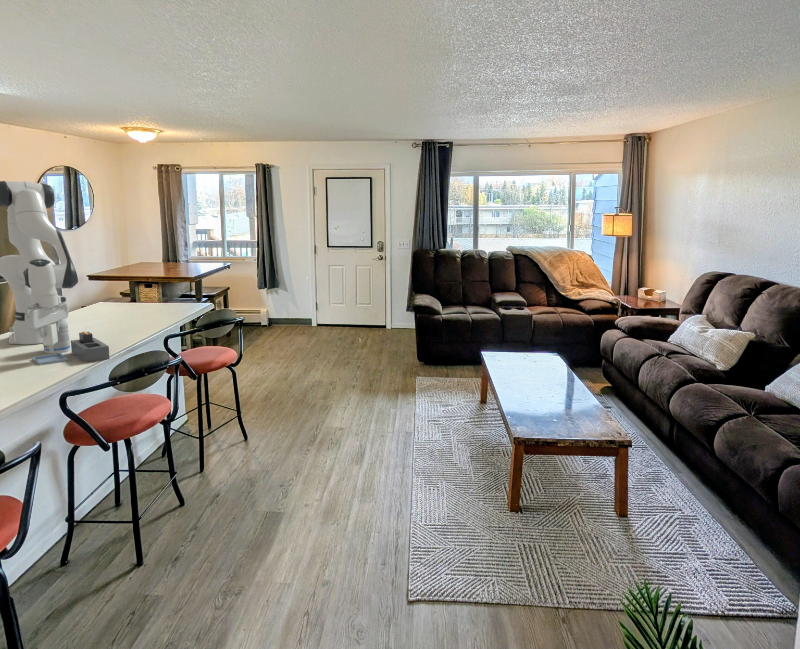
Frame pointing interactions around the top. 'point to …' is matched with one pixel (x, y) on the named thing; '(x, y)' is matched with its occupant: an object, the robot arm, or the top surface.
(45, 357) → the slate tray
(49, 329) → the white orange-striped block
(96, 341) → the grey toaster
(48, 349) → the supplement tub
